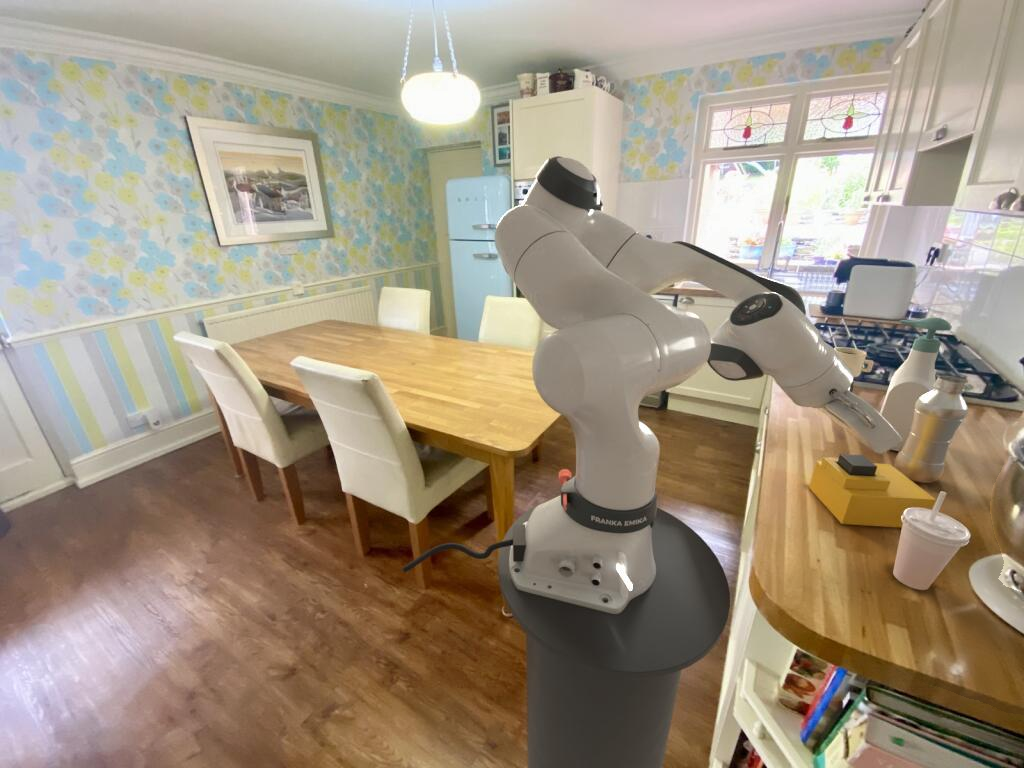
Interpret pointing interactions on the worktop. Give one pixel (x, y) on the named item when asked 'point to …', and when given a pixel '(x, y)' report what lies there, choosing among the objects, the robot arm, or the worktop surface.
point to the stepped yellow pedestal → (867, 494)
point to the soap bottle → (913, 377)
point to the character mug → (854, 360)
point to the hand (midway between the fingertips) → (865, 437)
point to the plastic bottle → (933, 430)
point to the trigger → (856, 465)
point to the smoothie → (927, 544)
